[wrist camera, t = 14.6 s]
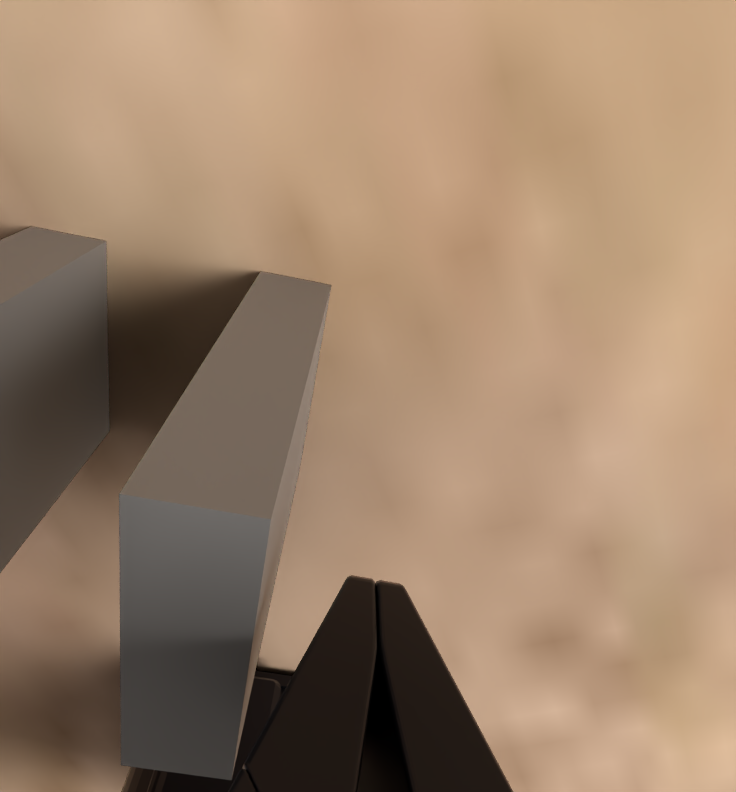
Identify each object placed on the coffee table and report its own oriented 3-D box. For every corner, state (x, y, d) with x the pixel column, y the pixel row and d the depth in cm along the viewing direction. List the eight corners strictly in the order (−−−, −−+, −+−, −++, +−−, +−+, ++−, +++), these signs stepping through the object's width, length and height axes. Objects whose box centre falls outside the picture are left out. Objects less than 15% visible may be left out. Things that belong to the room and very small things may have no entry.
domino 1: (300, 464, 16) (231, 780, 9) (240, 453, 16) (121, 765, 9) (331, 285, 13) (270, 519, 6) (260, 271, 13) (119, 493, 6)
